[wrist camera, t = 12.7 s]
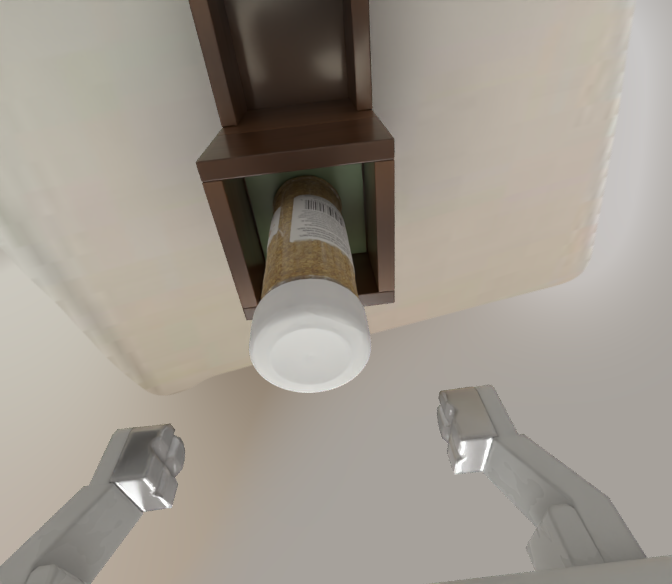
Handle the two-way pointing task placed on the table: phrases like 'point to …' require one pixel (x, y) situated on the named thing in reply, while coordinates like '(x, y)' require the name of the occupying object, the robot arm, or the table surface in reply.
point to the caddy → (295, 130)
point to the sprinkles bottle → (309, 294)
